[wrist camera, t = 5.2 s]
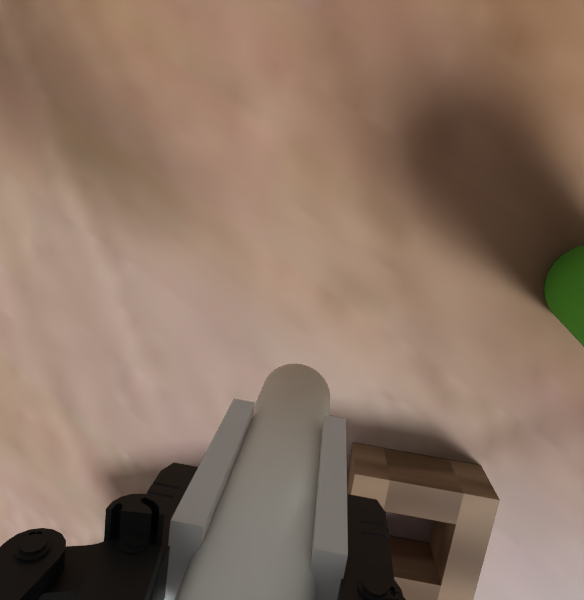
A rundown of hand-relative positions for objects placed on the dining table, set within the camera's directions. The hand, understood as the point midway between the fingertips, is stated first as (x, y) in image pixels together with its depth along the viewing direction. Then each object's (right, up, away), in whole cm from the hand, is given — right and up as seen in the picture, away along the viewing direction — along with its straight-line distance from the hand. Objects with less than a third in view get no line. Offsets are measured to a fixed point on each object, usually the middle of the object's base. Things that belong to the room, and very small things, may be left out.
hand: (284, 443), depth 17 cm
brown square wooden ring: (+8, -10, +18) cm, 22 cm away
